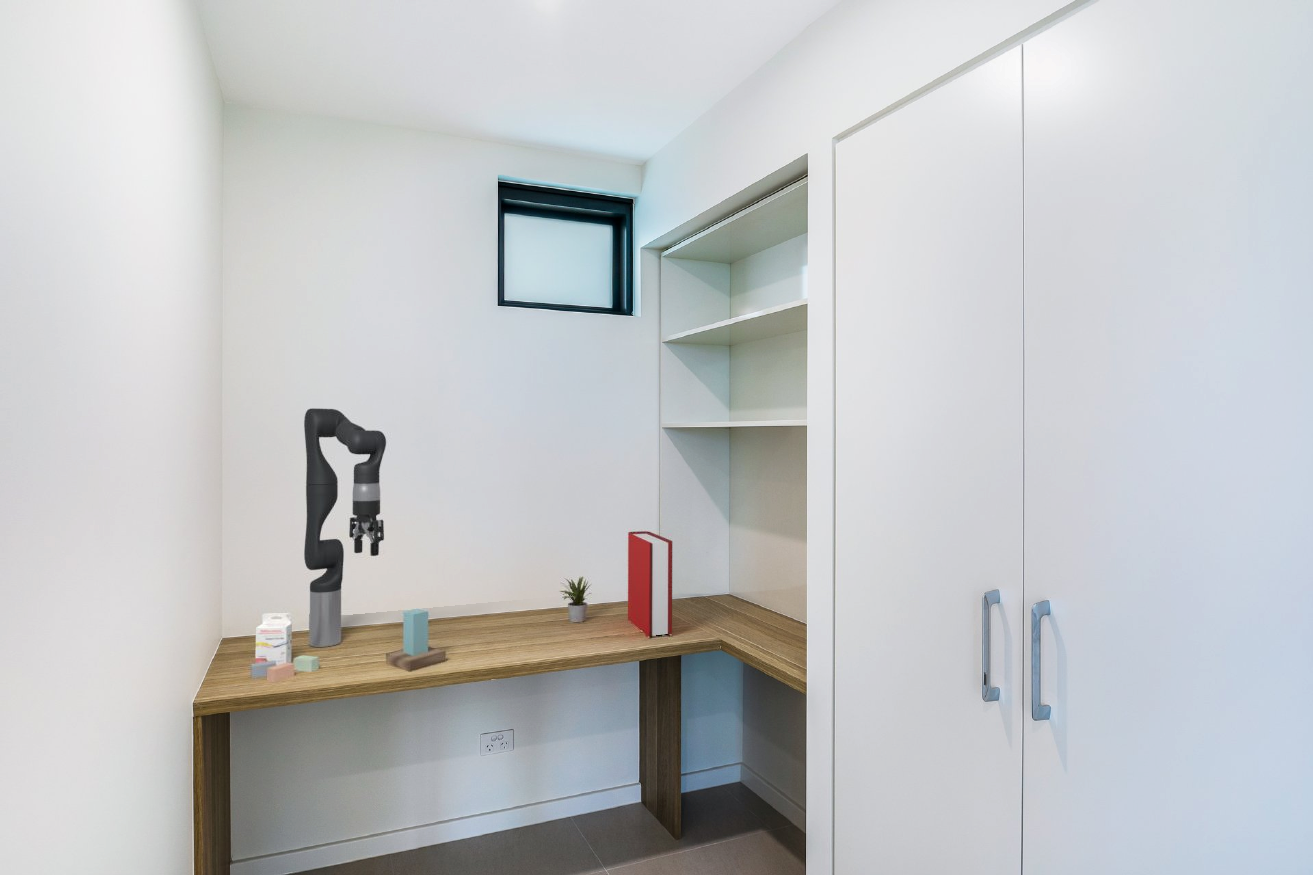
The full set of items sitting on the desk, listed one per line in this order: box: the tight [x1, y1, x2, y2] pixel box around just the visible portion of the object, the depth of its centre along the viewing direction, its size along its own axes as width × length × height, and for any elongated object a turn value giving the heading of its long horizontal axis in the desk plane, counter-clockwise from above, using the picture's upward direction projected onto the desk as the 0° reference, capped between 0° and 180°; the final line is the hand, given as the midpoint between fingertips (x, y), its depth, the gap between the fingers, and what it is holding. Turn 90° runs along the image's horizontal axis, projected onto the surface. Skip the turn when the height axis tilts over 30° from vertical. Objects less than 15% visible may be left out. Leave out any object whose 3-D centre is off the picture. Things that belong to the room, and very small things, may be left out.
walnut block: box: [385, 645, 447, 672], centre depth 217 cm, size 12×12×3 cm
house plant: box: [559, 576, 591, 623], centre depth 268 cm, size 14×14×16 cm
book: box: [627, 530, 673, 638], centre depth 258 cm, size 27×8×32 cm, turn 18°
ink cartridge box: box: [254, 612, 293, 665], centre depth 214 cm, size 9×5×15 cm, turn 99°
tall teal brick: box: [402, 608, 429, 656], centre depth 217 cm, size 5×5×12 cm
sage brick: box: [293, 655, 320, 673], centre depth 210 cm, size 6×3×4 cm, turn 74°
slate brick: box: [250, 661, 276, 679], centre depth 205 cm, size 6×3×4 cm, turn 122°
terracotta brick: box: [266, 662, 295, 683], centre depth 202 cm, size 6×3×4 cm, turn 153°
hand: (366, 554), depth 215 cm, fingers open, 8 cm apart
